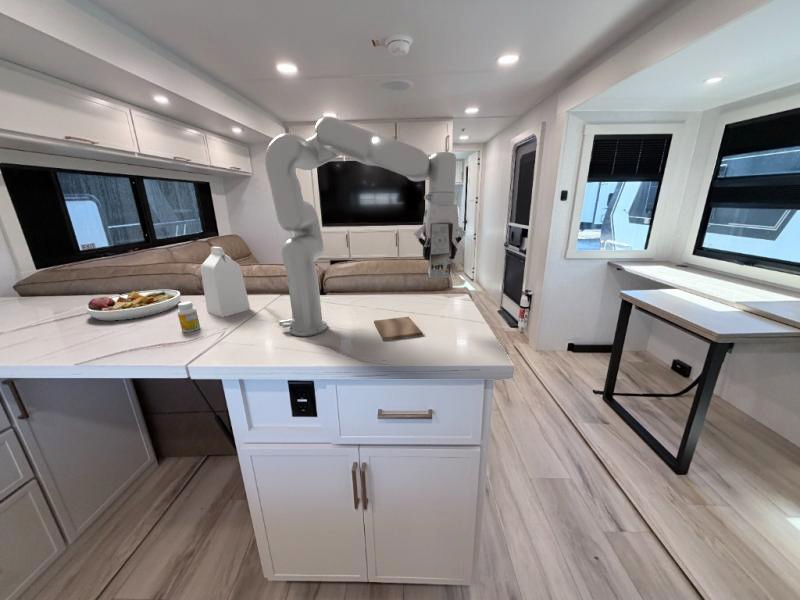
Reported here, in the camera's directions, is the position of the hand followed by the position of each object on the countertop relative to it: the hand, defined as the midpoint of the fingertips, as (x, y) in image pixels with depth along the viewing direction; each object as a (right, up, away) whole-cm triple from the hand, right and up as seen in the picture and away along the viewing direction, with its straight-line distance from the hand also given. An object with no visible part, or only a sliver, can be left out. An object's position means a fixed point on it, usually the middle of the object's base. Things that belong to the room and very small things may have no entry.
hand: (439, 258), depth 94 cm
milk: (-83, -17, +31) cm, 90 cm away
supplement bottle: (-86, -23, +13) cm, 90 cm away
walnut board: (-13, -23, +9) cm, 28 cm away
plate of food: (-122, -18, +34) cm, 128 cm away
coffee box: (0, -5, +2) cm, 5 cm away
